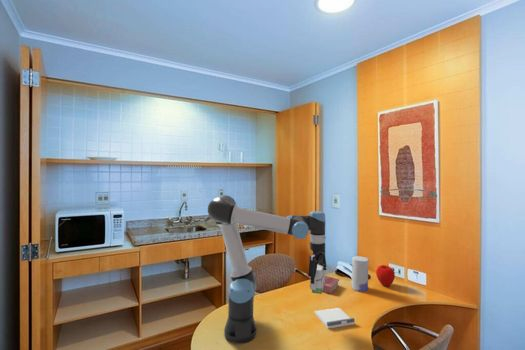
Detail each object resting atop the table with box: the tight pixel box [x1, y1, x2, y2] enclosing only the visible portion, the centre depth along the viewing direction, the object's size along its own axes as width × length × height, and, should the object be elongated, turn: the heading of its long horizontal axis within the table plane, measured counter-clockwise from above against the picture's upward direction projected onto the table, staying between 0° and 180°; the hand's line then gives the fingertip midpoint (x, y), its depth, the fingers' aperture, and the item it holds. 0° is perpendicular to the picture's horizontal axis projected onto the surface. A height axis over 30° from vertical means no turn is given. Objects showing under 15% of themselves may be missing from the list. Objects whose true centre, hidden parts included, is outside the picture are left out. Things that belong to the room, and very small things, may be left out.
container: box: [351, 255, 370, 293], centre depth 173 cm, size 10×10×20 cm
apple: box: [375, 264, 396, 288], centre depth 179 cm, size 12×12×13 cm
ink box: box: [311, 264, 323, 295], centre depth 134 cm, size 9×5×12 cm, turn 160°
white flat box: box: [314, 307, 355, 330], centre depth 138 cm, size 15×14×3 cm
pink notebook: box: [322, 275, 340, 295], centre depth 174 cm, size 14×15×5 cm
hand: (317, 285), depth 135 cm, fingers closed on ink box, 9 cm apart
